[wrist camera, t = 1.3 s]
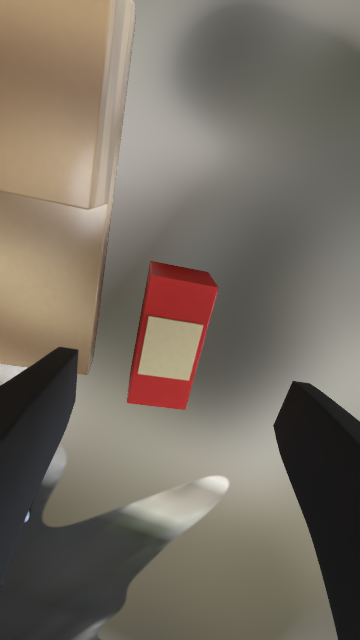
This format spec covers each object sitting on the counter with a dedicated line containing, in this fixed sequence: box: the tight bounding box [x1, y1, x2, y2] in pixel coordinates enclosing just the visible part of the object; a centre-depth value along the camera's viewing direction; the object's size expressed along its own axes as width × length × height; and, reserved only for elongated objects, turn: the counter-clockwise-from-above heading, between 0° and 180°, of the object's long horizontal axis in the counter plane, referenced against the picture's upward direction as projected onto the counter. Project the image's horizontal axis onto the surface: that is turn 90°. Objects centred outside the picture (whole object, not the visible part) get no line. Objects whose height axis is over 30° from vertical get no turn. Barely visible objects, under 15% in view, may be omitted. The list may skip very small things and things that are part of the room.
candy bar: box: [127, 261, 218, 410], centre depth 19 cm, size 8×4×3 cm, turn 168°
